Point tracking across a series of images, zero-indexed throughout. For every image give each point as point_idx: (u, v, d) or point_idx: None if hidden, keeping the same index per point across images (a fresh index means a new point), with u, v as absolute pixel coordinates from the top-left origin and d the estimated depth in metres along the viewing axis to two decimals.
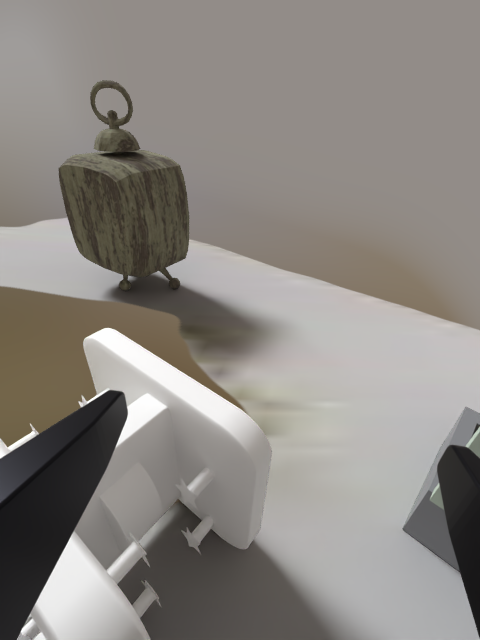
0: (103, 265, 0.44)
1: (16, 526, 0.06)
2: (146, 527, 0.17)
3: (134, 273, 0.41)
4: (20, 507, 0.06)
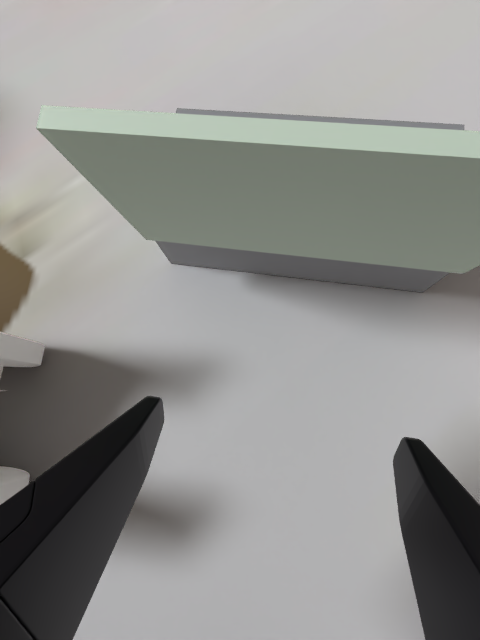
0: None
1: (71, 538, 0.06)
2: None
3: None
4: (75, 519, 0.06)
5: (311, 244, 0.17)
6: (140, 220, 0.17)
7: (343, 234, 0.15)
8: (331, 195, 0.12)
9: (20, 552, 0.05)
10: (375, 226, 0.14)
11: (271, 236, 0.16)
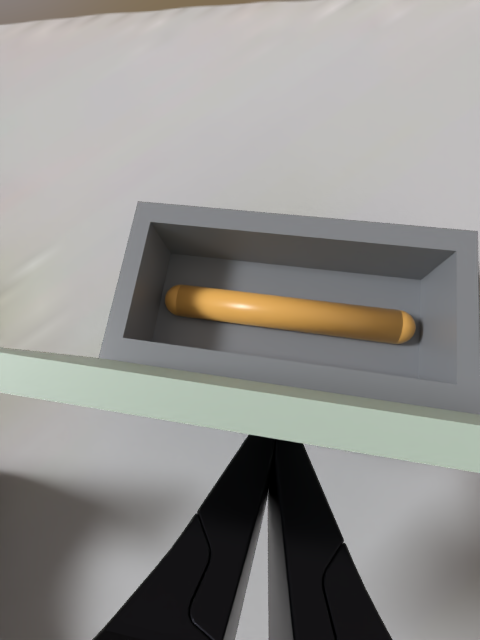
0: None
1: (243, 576, 0.06)
2: None
3: None
4: (248, 555, 0.06)
5: None
6: None
7: None
8: None
9: (223, 599, 0.05)
10: None
11: None
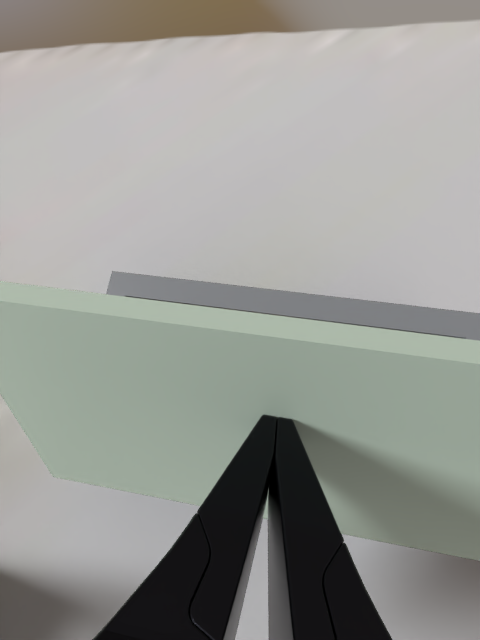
0: None
1: (243, 576, 0.06)
2: None
3: None
4: (248, 555, 0.06)
5: None
6: (49, 443, 0.12)
7: (328, 483, 0.10)
8: (309, 416, 0.09)
9: (223, 599, 0.05)
10: (372, 471, 0.10)
11: None
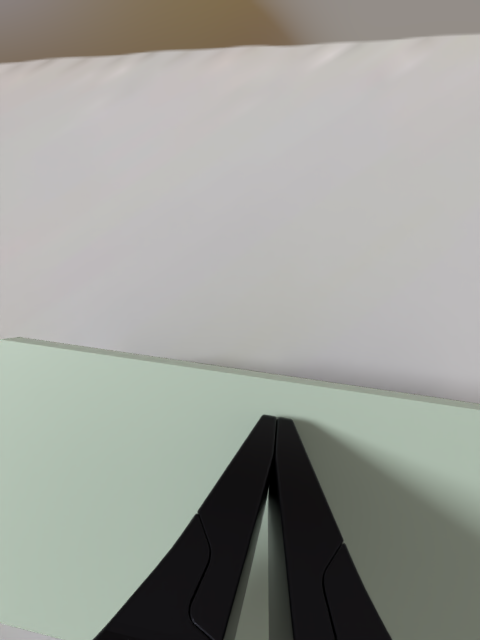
0: None
1: (243, 576, 0.06)
2: None
3: None
4: (248, 555, 0.06)
5: None
6: (5, 542, 0.11)
7: None
8: None
9: (223, 599, 0.05)
10: (367, 559, 0.09)
11: None
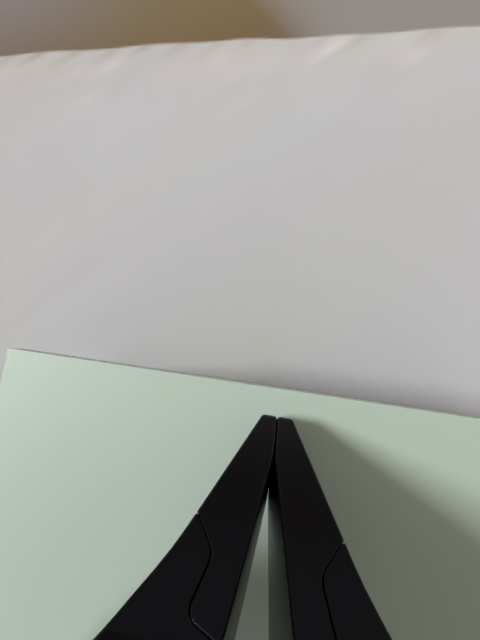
0: None
1: (243, 576, 0.06)
2: None
3: None
4: (248, 555, 0.06)
5: None
6: None
7: None
8: None
9: (223, 598, 0.05)
10: (370, 581, 0.09)
11: None
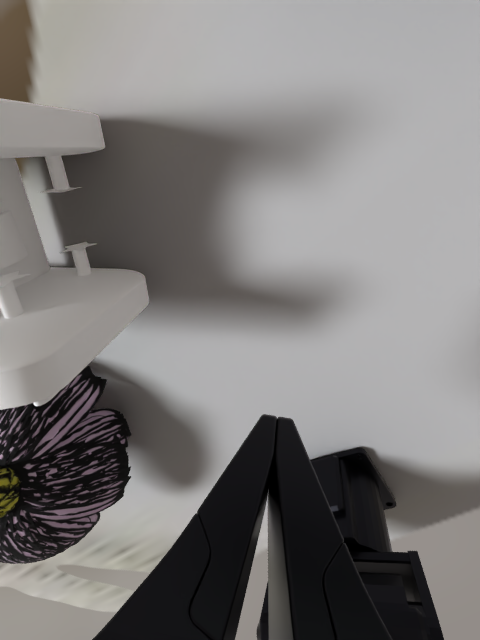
0: None
1: (243, 576, 0.06)
2: (3, 240, 0.15)
3: None
4: (248, 555, 0.06)
5: None
6: None
7: None
8: None
9: (223, 598, 0.05)
10: None
11: None
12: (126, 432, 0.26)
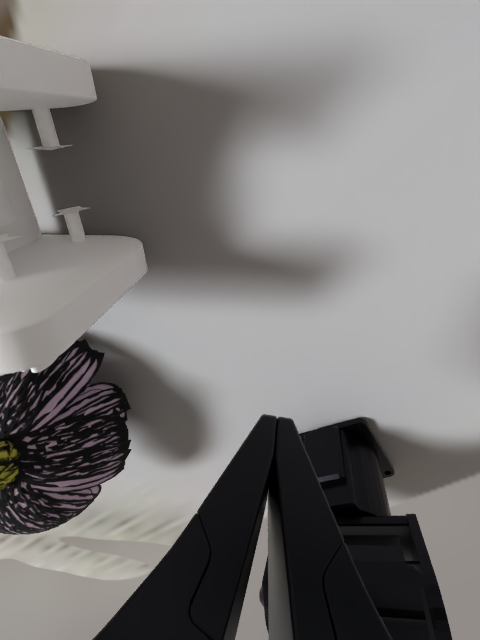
0: None
1: (243, 576, 0.06)
2: None
3: None
4: (248, 555, 0.06)
5: None
6: None
7: None
8: None
9: (223, 598, 0.05)
10: None
11: None
12: (125, 405, 0.26)
